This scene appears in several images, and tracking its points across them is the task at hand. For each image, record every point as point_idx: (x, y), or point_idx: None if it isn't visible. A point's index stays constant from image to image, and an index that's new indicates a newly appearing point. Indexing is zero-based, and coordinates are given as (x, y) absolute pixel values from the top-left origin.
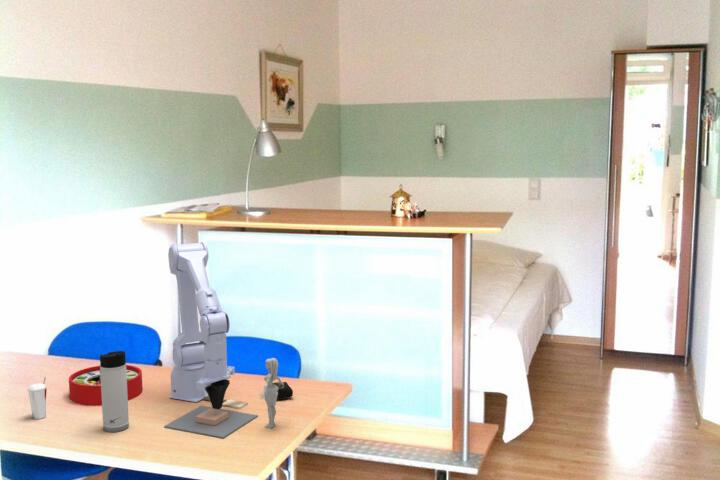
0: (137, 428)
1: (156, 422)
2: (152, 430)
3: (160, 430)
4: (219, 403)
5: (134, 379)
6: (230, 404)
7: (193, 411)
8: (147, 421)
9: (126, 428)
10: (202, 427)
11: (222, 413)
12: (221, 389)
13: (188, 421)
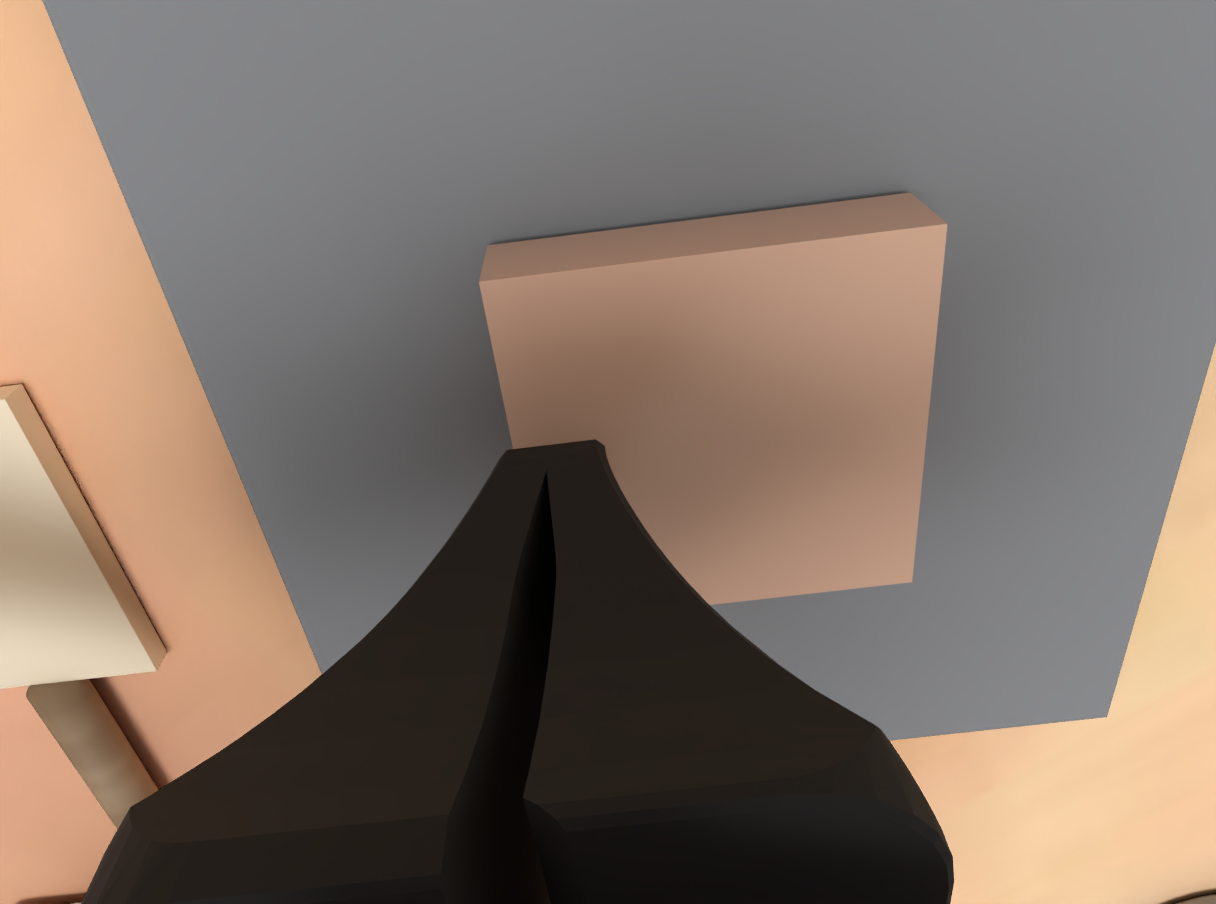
0: (1177, 844)
1: (980, 822)
2: (1202, 732)
3: (1186, 679)
4: (614, 489)
5: None
6: (63, 574)
7: None
8: (983, 882)
9: (1205, 896)
10: (1027, 325)
11: (594, 328)
12: (671, 709)
13: (884, 609)
